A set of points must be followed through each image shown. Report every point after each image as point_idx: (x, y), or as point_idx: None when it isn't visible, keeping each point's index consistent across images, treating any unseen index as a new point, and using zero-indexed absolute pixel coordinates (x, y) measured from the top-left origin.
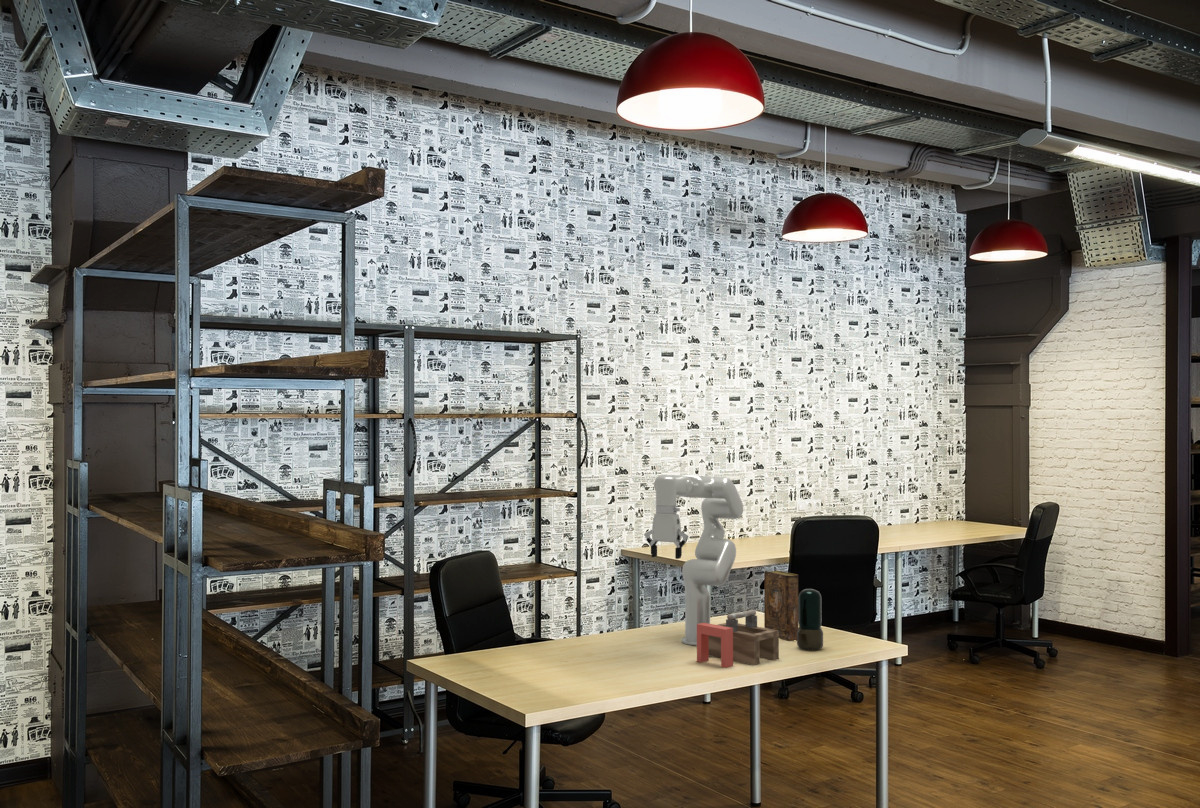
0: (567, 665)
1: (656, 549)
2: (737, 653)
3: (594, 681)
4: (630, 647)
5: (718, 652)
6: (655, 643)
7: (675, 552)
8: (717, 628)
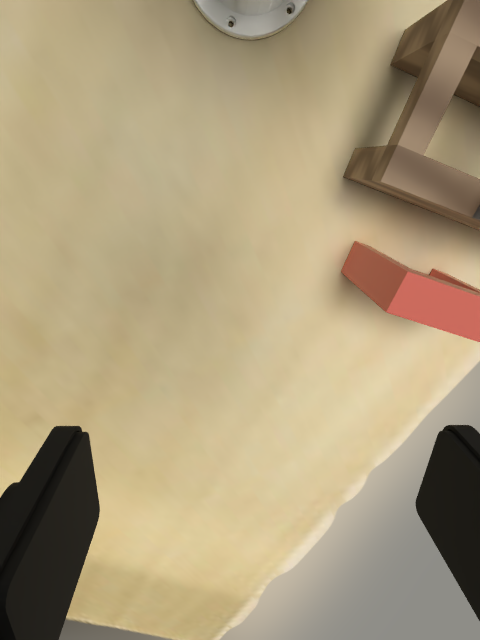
0: None
1: (45, 537)
2: (468, 223)
3: (201, 511)
4: (72, 189)
5: (396, 196)
6: (109, 72)
7: (461, 588)
8: (471, 339)
